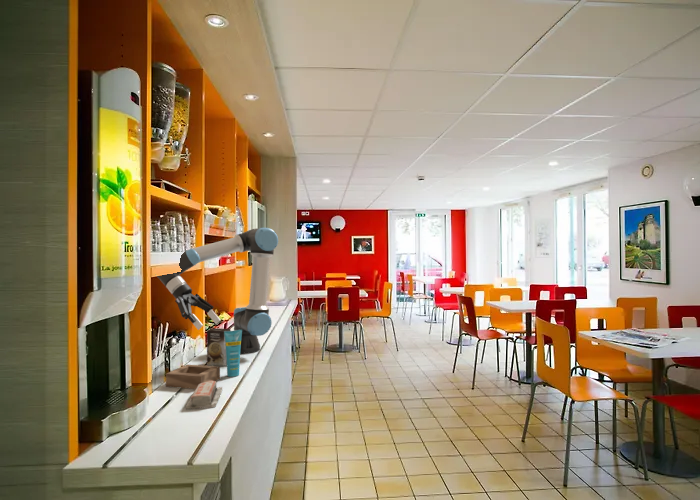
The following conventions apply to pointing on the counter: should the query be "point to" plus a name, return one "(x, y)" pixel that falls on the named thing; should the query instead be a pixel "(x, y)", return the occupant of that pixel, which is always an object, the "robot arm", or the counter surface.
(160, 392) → the counter surface
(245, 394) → the counter surface
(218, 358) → the coffee box
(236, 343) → the tube
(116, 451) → the counter surface
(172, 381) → the collar
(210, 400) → the packaged product
